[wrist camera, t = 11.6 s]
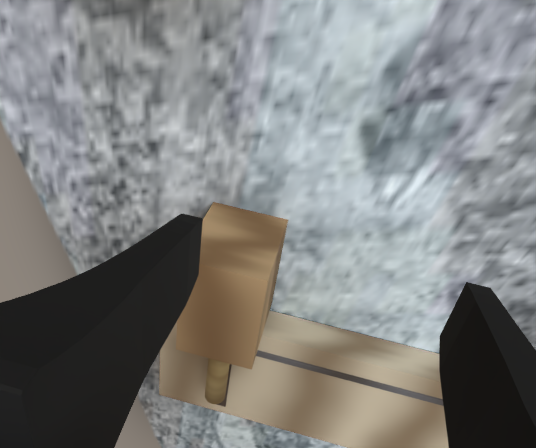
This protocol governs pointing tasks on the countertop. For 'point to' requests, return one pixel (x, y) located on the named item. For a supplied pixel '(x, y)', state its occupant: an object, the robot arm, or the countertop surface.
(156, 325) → the robot arm
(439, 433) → the maple board
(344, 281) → the countertop surface
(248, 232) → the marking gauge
